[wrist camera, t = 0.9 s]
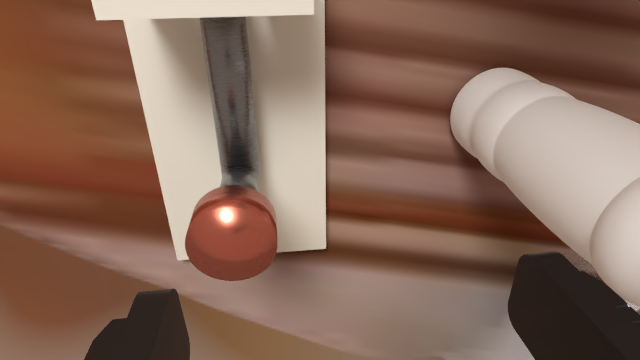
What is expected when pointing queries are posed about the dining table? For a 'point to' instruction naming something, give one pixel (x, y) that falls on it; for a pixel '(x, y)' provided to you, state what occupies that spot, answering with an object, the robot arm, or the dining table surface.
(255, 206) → the ball knob lever
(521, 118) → the water bottle
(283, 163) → the cream l-shaped stand
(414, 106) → the dining table surface
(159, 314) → the robot arm
